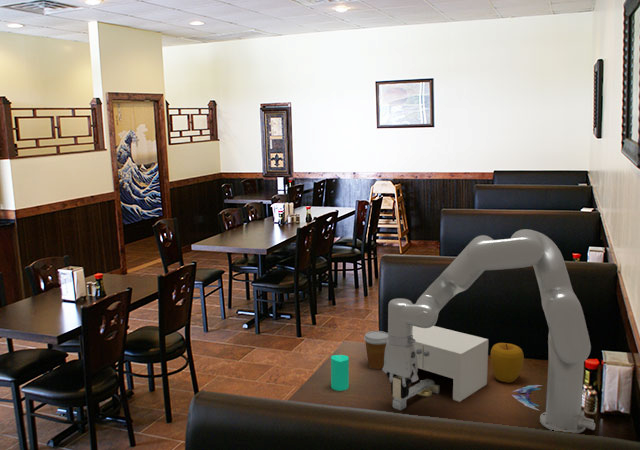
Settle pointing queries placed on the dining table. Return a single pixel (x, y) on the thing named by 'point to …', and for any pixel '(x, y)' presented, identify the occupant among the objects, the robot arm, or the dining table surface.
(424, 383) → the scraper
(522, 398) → the decorative blades
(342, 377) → the candle
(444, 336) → the cabinet
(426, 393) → the brass token
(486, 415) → the dining table surface
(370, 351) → the disposable coffee cup
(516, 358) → the apple
